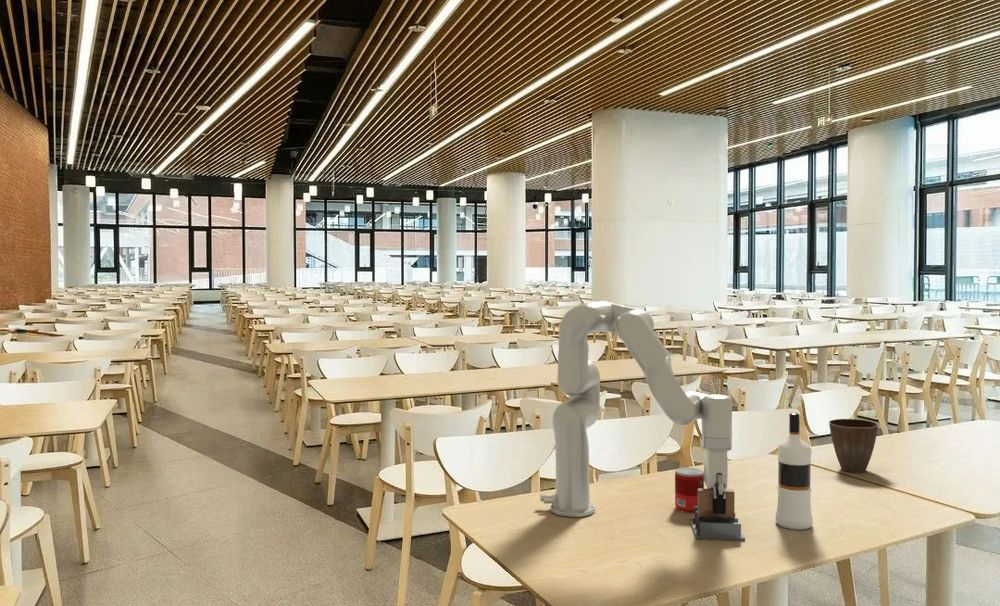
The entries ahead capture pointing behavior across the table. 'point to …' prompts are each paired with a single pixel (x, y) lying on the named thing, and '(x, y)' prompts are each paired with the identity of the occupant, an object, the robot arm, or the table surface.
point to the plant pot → (853, 442)
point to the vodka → (794, 480)
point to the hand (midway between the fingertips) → (716, 507)
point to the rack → (716, 527)
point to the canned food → (687, 488)
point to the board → (707, 503)
